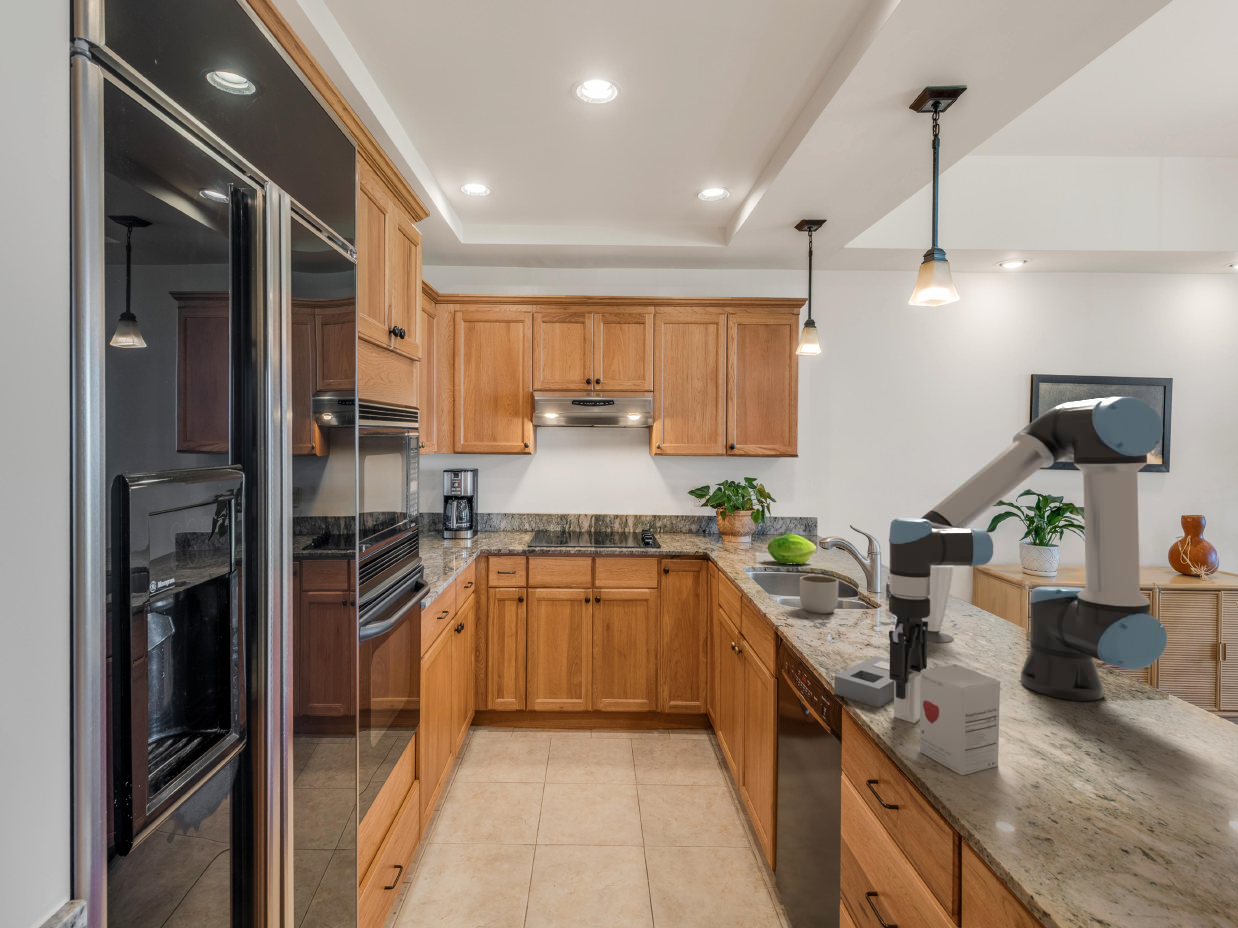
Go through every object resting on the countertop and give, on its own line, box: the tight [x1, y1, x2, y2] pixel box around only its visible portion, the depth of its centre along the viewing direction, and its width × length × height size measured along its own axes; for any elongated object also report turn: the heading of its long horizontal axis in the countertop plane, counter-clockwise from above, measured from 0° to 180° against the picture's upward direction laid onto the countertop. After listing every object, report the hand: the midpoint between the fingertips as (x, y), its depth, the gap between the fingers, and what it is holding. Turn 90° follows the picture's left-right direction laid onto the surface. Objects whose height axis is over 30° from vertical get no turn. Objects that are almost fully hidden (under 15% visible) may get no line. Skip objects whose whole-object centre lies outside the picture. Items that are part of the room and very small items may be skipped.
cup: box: [922, 566, 955, 644], centre depth 177 cm, size 12×12×22 cm
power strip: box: [833, 655, 894, 708], centre depth 138 cm, size 10×20×4 cm, turn 132°
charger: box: [893, 670, 921, 724], centre depth 124 cm, size 4×4×9 cm
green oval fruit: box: [766, 533, 817, 565], centre depth 293 cm, size 15×23×16 cm
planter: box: [799, 574, 839, 615], centre depth 206 cm, size 12×12×11 cm
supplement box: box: [919, 663, 1001, 776], centre depth 106 cm, size 9×9×15 cm
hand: (908, 709), depth 124 cm, fingers open, 5 cm apart
